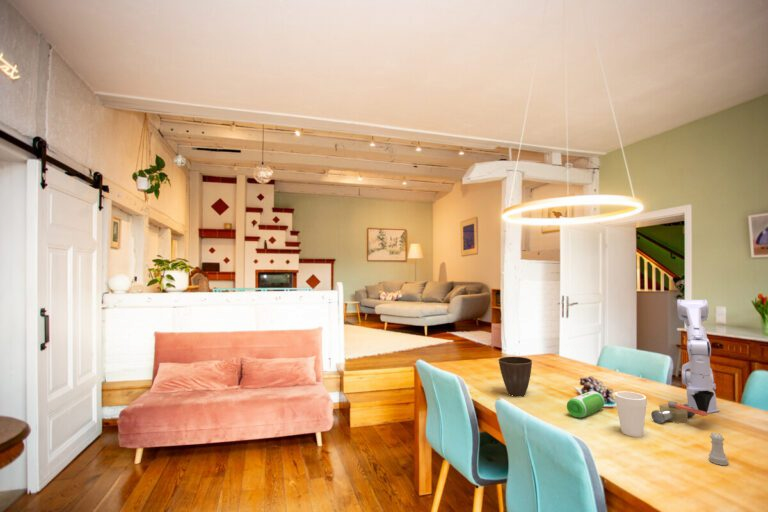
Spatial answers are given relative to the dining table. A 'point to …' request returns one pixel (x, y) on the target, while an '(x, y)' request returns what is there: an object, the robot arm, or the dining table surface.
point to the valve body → (671, 414)
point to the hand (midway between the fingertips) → (702, 411)
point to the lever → (687, 408)
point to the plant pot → (516, 374)
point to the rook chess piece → (717, 450)
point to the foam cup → (631, 412)
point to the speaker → (585, 404)
